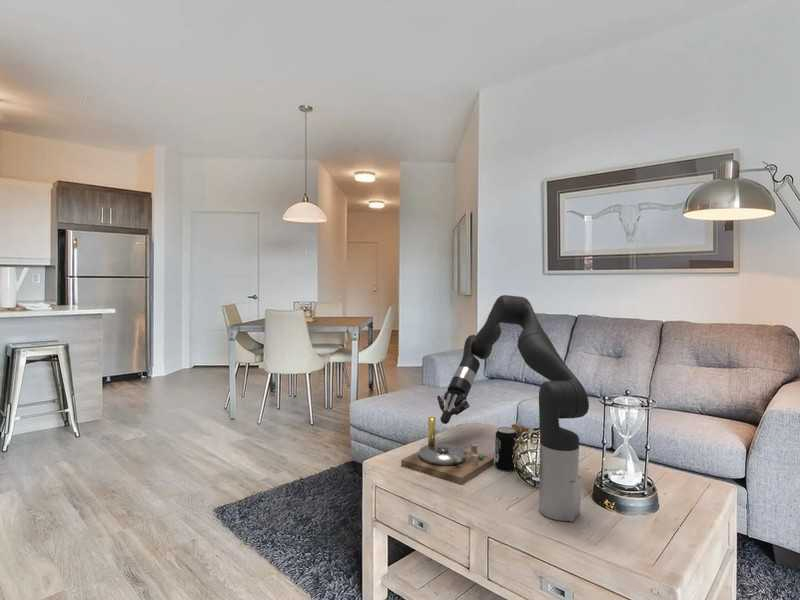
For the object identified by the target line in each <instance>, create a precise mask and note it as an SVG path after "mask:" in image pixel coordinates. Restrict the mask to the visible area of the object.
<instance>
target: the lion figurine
mask: <svg viewBox="0 0 800 600" xmlns="http://www.w3.org/2000/svg"><path fill="white" fill-rule="evenodd" d="M510 428H513V429H515V430H516V434H517V439H518V438H519V437H520V436H521V434H522V433H523V432H525V431H528V430H529V428H527V427H525V426H524V425H522V424H520V423H518V422H517V423H513V424H511V427H510Z"/></svg>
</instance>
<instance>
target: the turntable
mask: <svg viewBox="0 0 800 600" xmlns="http://www.w3.org/2000/svg"><path fill="white" fill-rule="evenodd" d="M435 444H438V443H437V442H435ZM465 451H466V453H467V456H466V460H465V461H464V462H462V463H460V464H456V465H435V464H430V463H427V462H425V461H423V460H422V459H421V458H420V457H419V451H417V452H416V451H415V452H414V453H413V454H410V455H408V456H405V457H404V458H401V459H400V463H401V464H400V466H401V465H402V466H401V467H403V466H405V467H404V468H406V467H408V468H407V469H410V468H411V470H413V469H414V470H413V471H416V470H418V471H417V472H419V471H421V473H423V472H424V474H426V473H427V474H426V475H429V476H433V477H435V478H439V479H442V480H444V481H445V480H446V481H448V480H449V482H453V483H456V484H458V483H459V485H461V486H462V485H465V483H468V482H469V481H470V480H472V479H473V478H476V477H477V476H478V475H479V474H481V473H483V472H484V471H486V470H487V469H489V468H490V467H493V464H494V465H495V457H491V456H488V455H484V454H482V453H478V445H477V444H476V443H471V444H470V451H467V450H465Z"/></svg>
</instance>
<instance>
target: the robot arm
mask: <svg viewBox="0 0 800 600" xmlns="http://www.w3.org/2000/svg"><path fill="white" fill-rule="evenodd" d="M500 323H503V324H505V325H506V324H508V325H518V326H520V327H521V328H522V331H521V332H520V334H519V337H518V340H517V349H518V351H519V353H520V356H521V358H522V359H523V361H524V362H525V364H526V366H528V367H529V368H530V369H531V370H532V371H534V372H535V373H537V374H539V375H541V376H542V377H544V378H545V379H547V381H544V382H542V383H541V384H540V387H539V391H538V409H539V411H538V415H539V416H538V417H539V419H538V420H539V422H538V425H539V433H540V444H539V446H540V447H539V449H540V451H539V484H538V485H539V487H538V511H539V513H540V514H541V515H543V516H544V517H547V518H548V519H552V520H555V521H561V522H562V521H565V522H571V523H572V522H574V521H575V519H576V518H577V517H578V516H579V515H580V513H581V487H582V483H581V480H582V477H581V475H579V464H580V463H579V462H580V459H579V458H580V457H579V456H580V437H579V435H578V434H577V433H575V432H574V431H572V430H570V429H566V428H564V427H561V426H560V419H579V418H582V417H585V416H586V415H587V414H588V412H589V409H590V402H589V397H588V394H587V391H586V390H585V388H584V386H583V385H582V383H581V382H580V380H579V379H578V378H577V377H576V375H575V374H574V373H573V372H572V371H571V369H570V368H569V367H568V366H567V364H566V363H565V362H564V360H563V359H562V357H561V355H560V354H559V353H558V351H557V349H556V347H555V346H554V344H553V342H552V341H551V340H550V338H549V336H548V335H547V333H546V332H545V330H544V329H543V327H542V325H541V324H540V321H539V319H538V318H537V315H536V313H535V311H534V308H533V307H532V305H531V302H530V301H529V300H528V298H526V297H525V296H519V295H518V296H515V295H507V294H505V295H504V294H503V295H500V296H499V297H497V299H496V300H495V301H494V304H493V305H492V308H491V310H490V311H489V314H488V316H487V318H486V321H485V323H484V325H483V326H482V327H481V328H480V329H479V331H478V332H477V333H476V334H471V335H469V336H468V337H467V338H466V339H465V341H464V345H463V353H462V358H461V361H460V362H459V365H458V368H457V369H456V370H455V372H454V374H453V376H452V378H451V381H450V382H449V384H448V387H447V391H446V392H445V393H444V394H443V395H437V397H436V398H437V402H438V405H439V408H440V410H441V412H442V414H441V416H440V422H441V424H443V425H447V424H448V423H449V422H450V421H451V418H452V416H454V415H455V416H458V415H459V414H461V413H463V412H464V411H466V410H467V409H468V408H469V407H470V403H469V401H468V400H467V397H468V395H469V393H470V391H471V389H472V386H473V384H474V382H475V378H476V375H477V374H478V371H479V369H480V365H481V362H480V361H479V359H481V360H487V359H488V358H489V356H491V354H492V350H493V346H494V345H495V343H496V342H497V341H498V340H499V339H500V337H501V335H502V334H501V333H502V328H501V325H500Z"/></svg>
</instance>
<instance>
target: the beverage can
mask: <svg viewBox="0 0 800 600" xmlns="http://www.w3.org/2000/svg"><path fill="white" fill-rule="evenodd" d="M516 442H517V443H518V440H517V434H516V430H515V429H513V428H511V427H509V426H499V427H498V428H497V429H496V432H495V445H494V446H495V447H494V455H495V456H494V465H495V466H496V468H497V469H498V470H500V469H501V470H500V471H504V470H508V471H507V472H509V470H511V471H514V470H515V469H516V468H515V467H514V462H513V458H512V455H513V447H514V445H515V443H516ZM514 468H515V469H514ZM513 469H514V470H513Z"/></svg>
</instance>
